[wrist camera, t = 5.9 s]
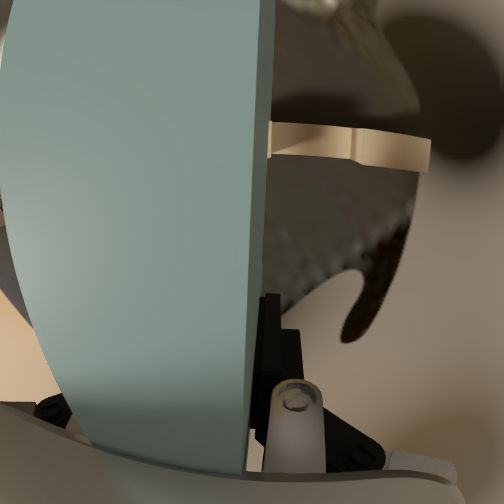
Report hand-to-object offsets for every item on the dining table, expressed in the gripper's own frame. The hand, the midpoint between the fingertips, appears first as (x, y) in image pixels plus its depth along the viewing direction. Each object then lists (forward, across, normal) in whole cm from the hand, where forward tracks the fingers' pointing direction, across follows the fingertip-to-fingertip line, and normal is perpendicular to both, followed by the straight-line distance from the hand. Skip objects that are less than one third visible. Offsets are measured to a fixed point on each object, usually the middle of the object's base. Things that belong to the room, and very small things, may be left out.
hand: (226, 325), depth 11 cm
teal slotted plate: (+3, 0, -4) cm, 5 cm away
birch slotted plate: (+17, -4, -6) cm, 19 cm away
